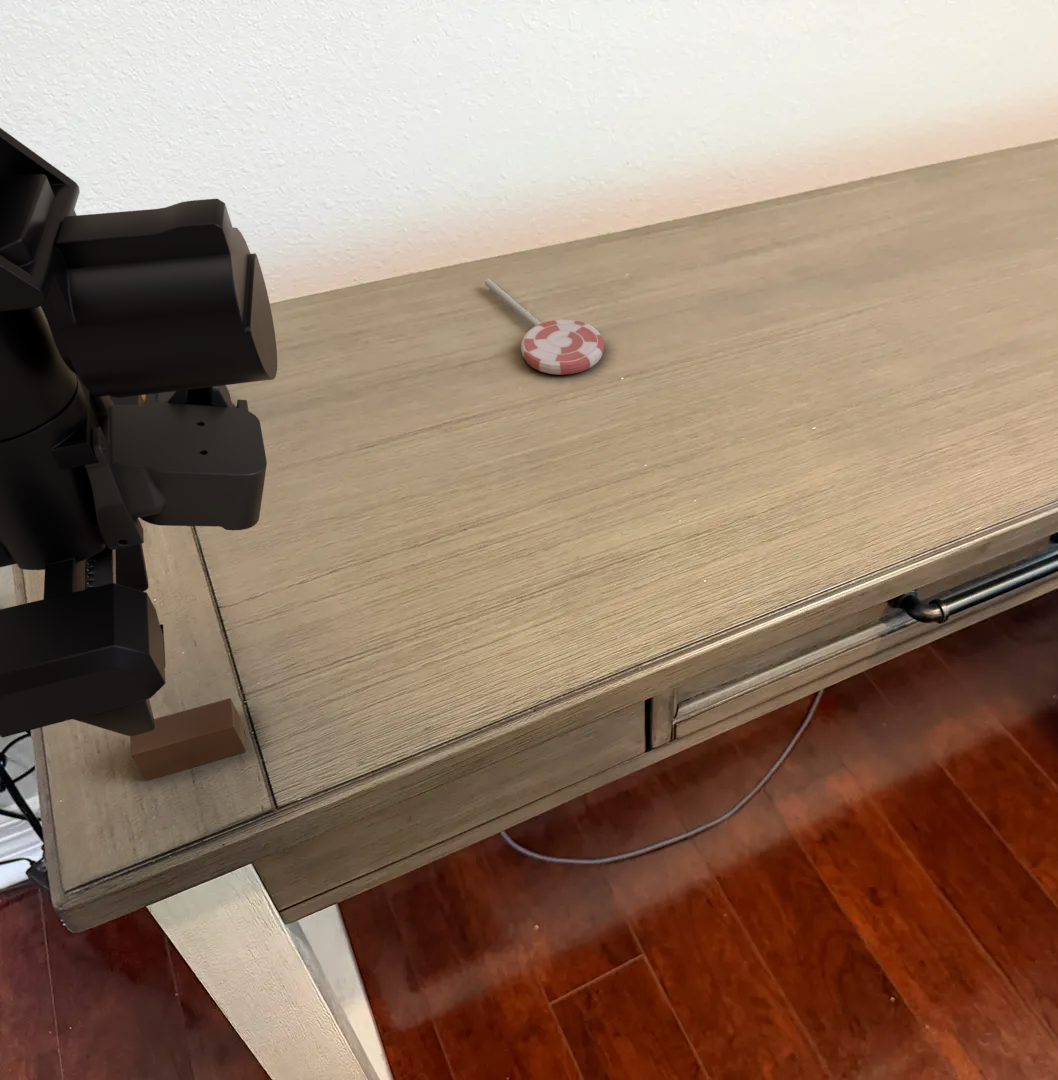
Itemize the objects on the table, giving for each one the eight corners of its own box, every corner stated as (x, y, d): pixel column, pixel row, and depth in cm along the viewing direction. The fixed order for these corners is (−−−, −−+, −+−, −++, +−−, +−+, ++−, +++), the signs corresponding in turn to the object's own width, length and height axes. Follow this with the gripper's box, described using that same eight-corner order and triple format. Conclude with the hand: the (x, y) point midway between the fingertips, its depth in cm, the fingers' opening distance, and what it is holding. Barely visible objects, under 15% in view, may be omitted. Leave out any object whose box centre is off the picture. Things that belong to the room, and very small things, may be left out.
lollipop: (520, 265, 90) (620, 346, 82) (521, 275, 91) (620, 357, 83) (452, 288, 87) (549, 375, 79) (454, 299, 88) (550, 386, 80)
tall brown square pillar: (246, 751, 56) (233, 726, 55) (146, 780, 55) (130, 755, 53) (243, 723, 58) (230, 697, 56) (145, 750, 56) (129, 725, 54)
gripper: (242, 509, 36) (340, 759, 47) (206, 246, 48) (290, 495, 59) (-136, 593, 32) (66, 841, 44) (-73, 287, 44) (72, 543, 55)
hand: (140, 656), depth 50 cm, fingers open, 9 cm apart
